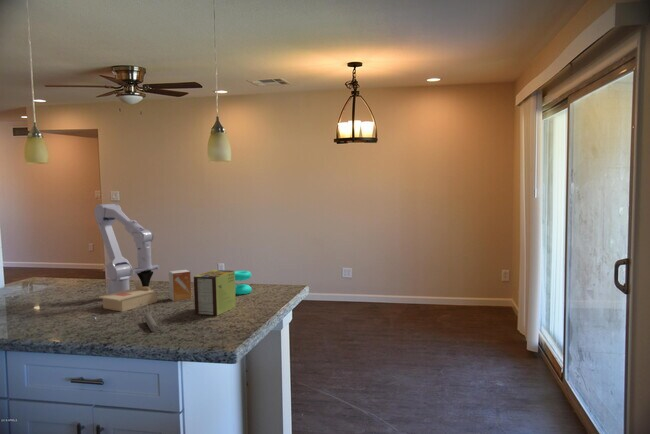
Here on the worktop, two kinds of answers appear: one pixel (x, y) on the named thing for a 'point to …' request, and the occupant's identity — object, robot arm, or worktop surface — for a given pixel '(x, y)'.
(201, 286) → the protein box
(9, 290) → the worktop surface
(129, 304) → the wooden box
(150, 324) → the kitchen whisk
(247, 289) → the donuts
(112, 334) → the worktop surface
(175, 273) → the small box
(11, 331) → the worktop surface
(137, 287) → the lid
